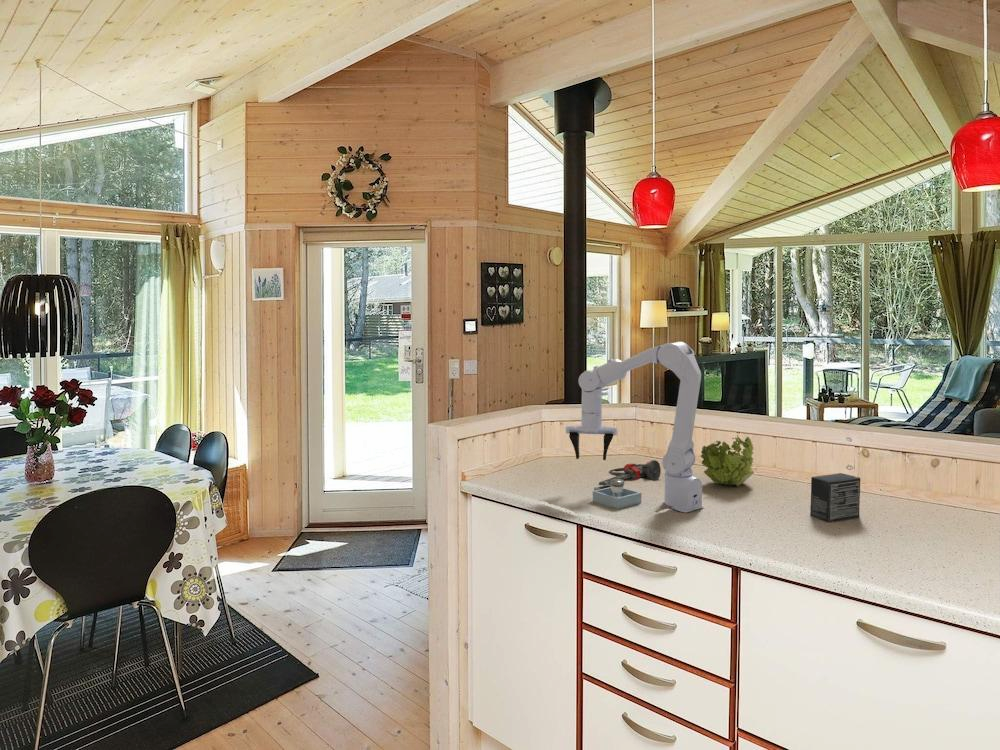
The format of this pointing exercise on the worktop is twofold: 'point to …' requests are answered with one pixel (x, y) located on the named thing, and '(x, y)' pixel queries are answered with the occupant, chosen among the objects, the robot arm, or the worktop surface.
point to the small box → (835, 497)
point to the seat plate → (601, 487)
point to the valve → (636, 472)
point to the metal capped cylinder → (617, 487)
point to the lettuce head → (728, 462)
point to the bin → (627, 499)
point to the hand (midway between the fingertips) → (591, 458)
